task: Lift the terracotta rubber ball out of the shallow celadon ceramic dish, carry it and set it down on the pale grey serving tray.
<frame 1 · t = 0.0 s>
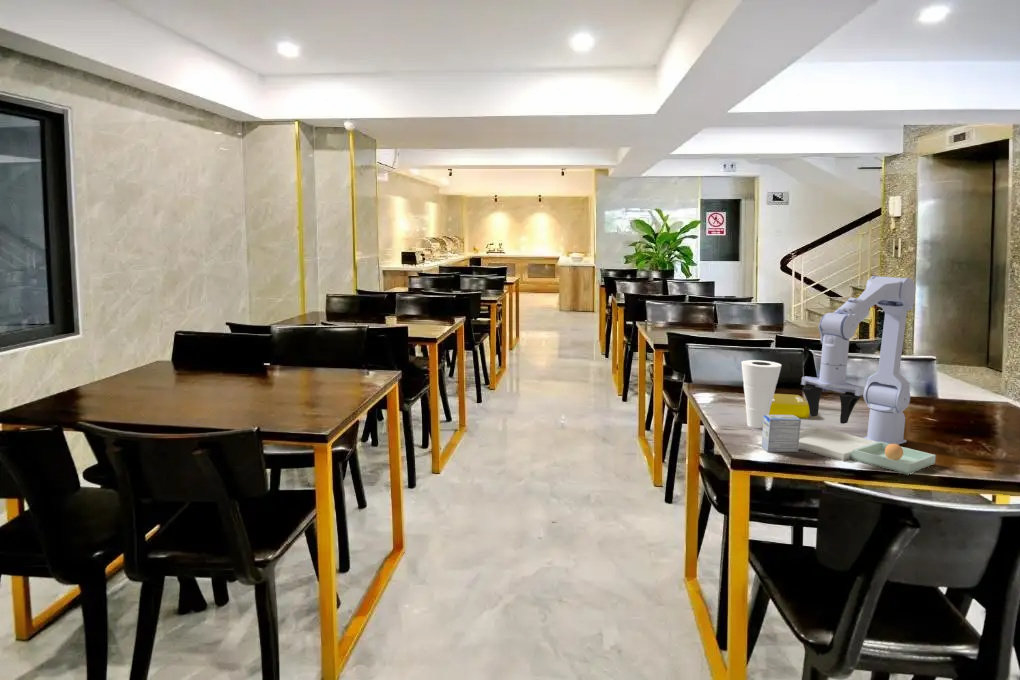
hand: (828, 419, 177), 10 cm above the table, tool pointing down, fingers open, 7 cm apart
element tile: (779, 413, 227), on the table
ball: (893, 452, 178), point 3 cm above the table, touching dish
dish: (892, 462, 178), on the table
tray: (828, 446, 191), on the table
medicine box: (779, 450, 186), on the table
white paper towel roll: (756, 426, 209), on the table
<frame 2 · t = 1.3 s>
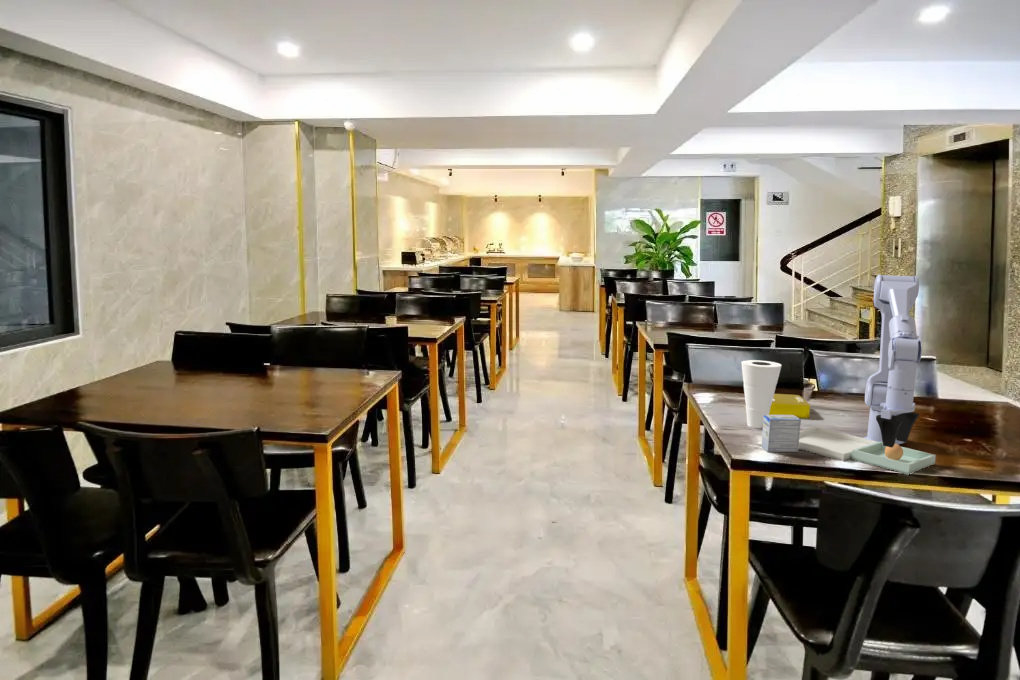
hand: (894, 443, 177), 5 cm above the table, tool pointing down, fingers open, 7 cm apart
nothing on the table moved.
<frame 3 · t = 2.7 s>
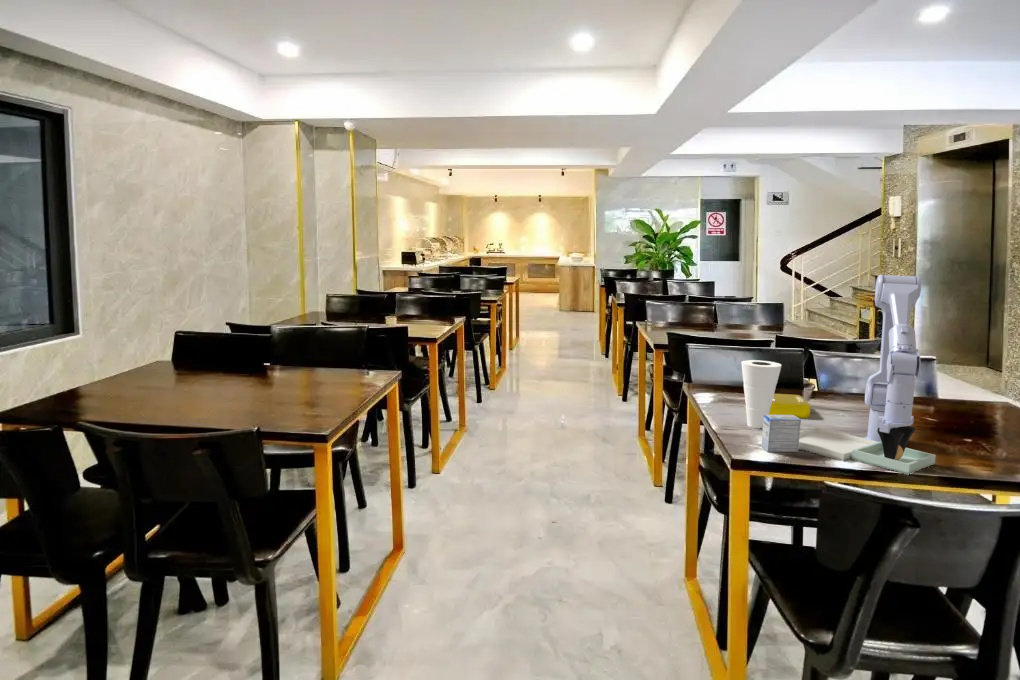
hand: (893, 456, 178), 1 cm above the table, tool pointing down, fingers closed on ball, 4 cm apart
ball: (893, 452, 178), point 3 cm above the table, touching dish, gripper
everything else where it was.
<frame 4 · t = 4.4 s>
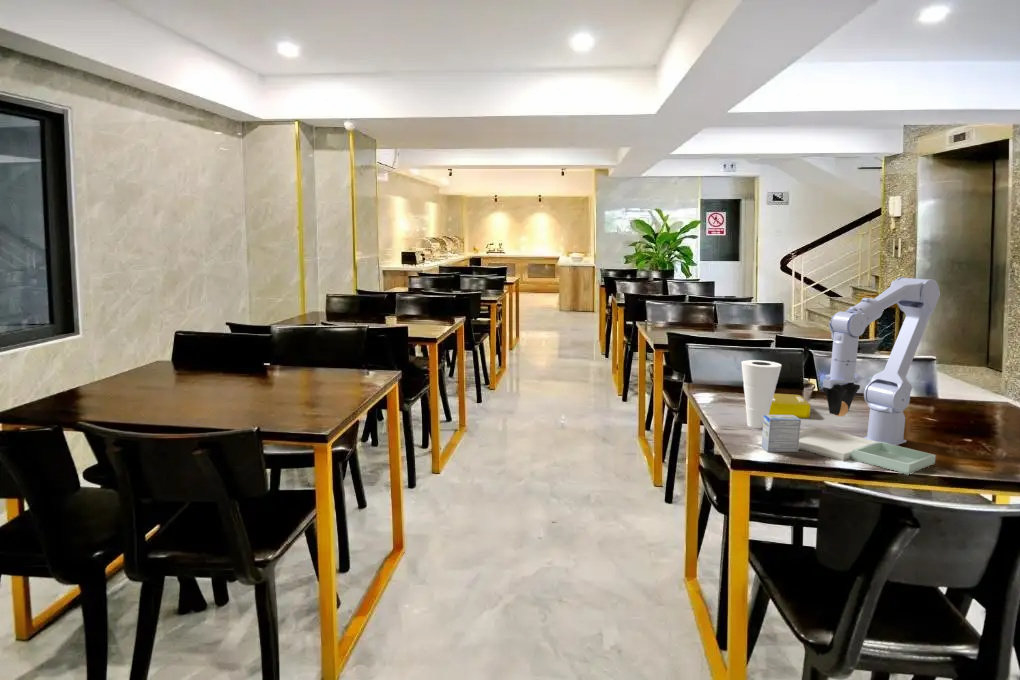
hand: (838, 412, 187), 9 cm above the table, tool pointing down, fingers closed on ball, 4 cm apart
ball: (839, 408, 187), point 11 cm above the table, touching gripper
everything else where it was.
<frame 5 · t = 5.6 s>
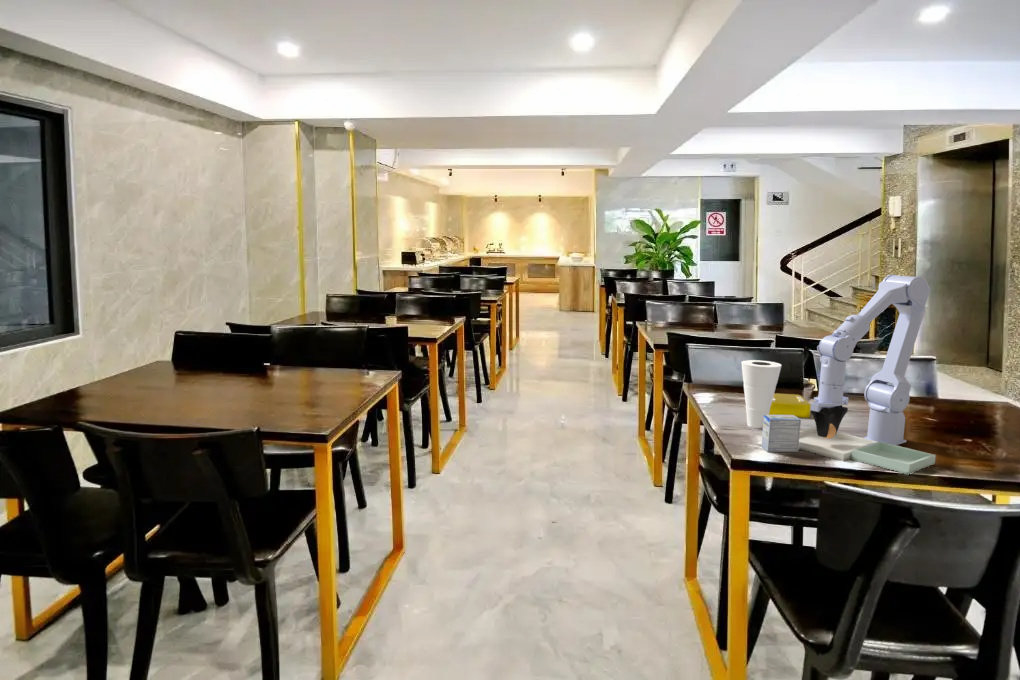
hand: (826, 435, 190), 3 cm above the table, tool pointing down, fingers closed on ball, 4 cm apart
ball: (827, 430, 189), point 4 cm above the table, touching gripper
everything else where it was.
when the fingers open (3 cm above the table, at t = 6.4 s): ball drops 1 cm, resting on tray.
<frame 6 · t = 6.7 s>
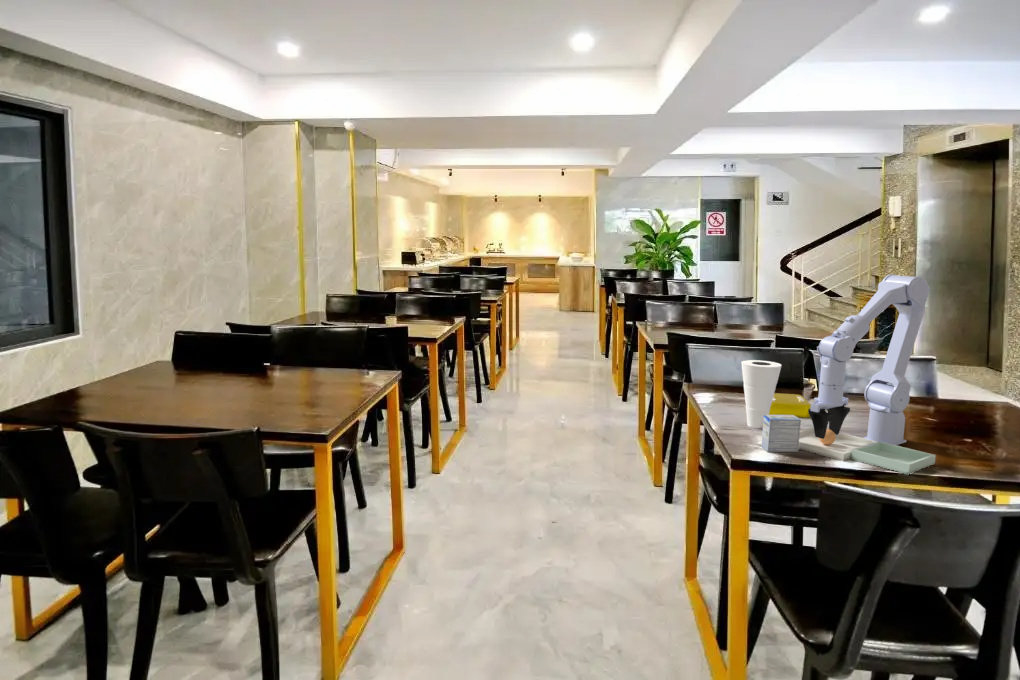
hand: (826, 435, 190), 3 cm above the table, tool pointing down, fingers open, 6 cm apart
ball: (827, 436, 190), point 3 cm above the table, touching tray
everything else where it was.
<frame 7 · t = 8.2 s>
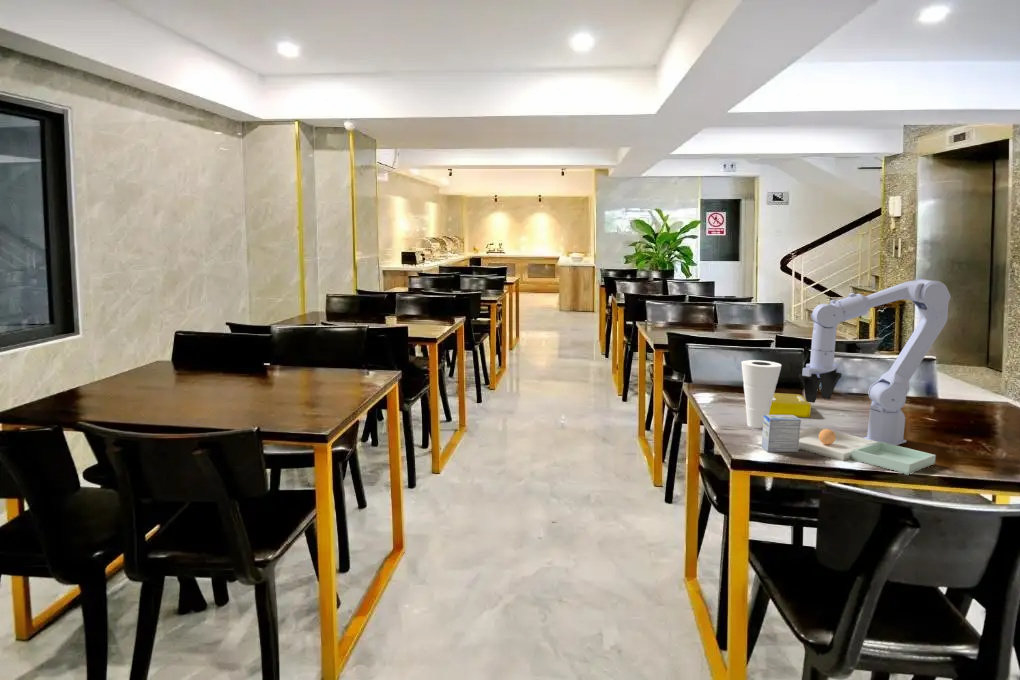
hand: (818, 400, 196), 10 cm above the table, tool pointing down, fingers open, 7 cm apart
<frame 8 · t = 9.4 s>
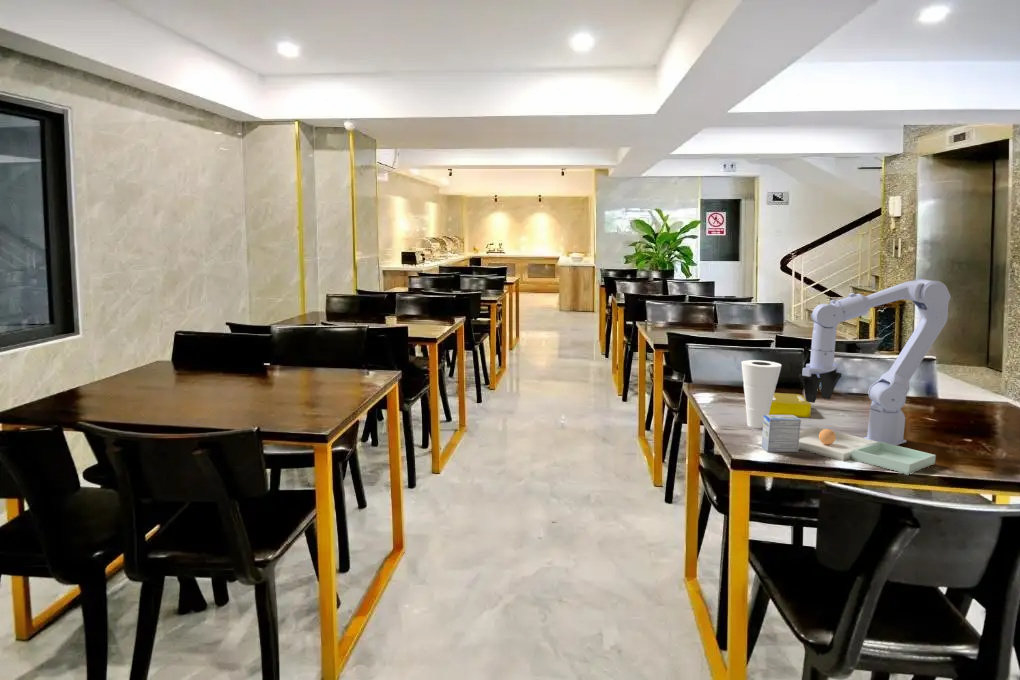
hand: (818, 400, 196), 10 cm above the table, tool pointing down, fingers open, 7 cm apart
at the end: ball inside the target area on the tray (0.9 cm from its centre), point 2.6 cm above the tray's base; the gripper is holding nothing; ball touching tray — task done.
